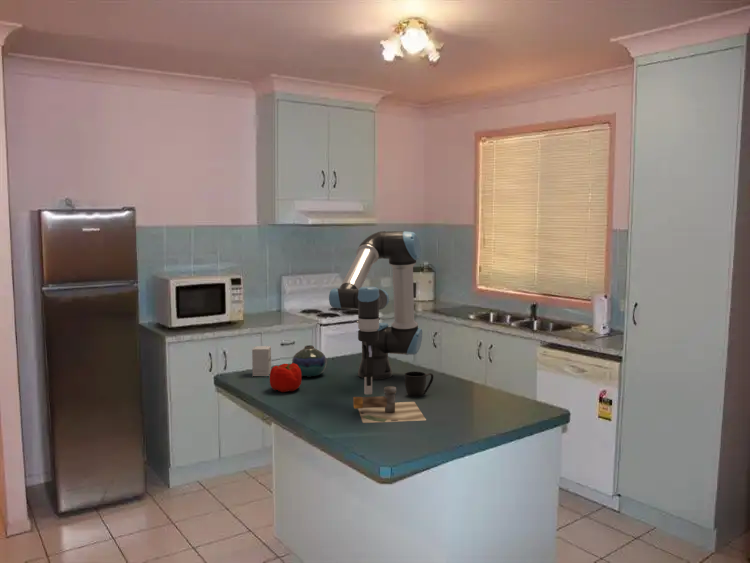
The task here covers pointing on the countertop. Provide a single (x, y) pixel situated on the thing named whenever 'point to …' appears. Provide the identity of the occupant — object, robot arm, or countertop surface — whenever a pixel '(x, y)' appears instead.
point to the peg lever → (378, 400)
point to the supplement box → (261, 360)
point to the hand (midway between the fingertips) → (368, 393)
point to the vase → (310, 361)
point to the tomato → (285, 377)
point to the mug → (416, 383)
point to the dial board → (392, 413)
